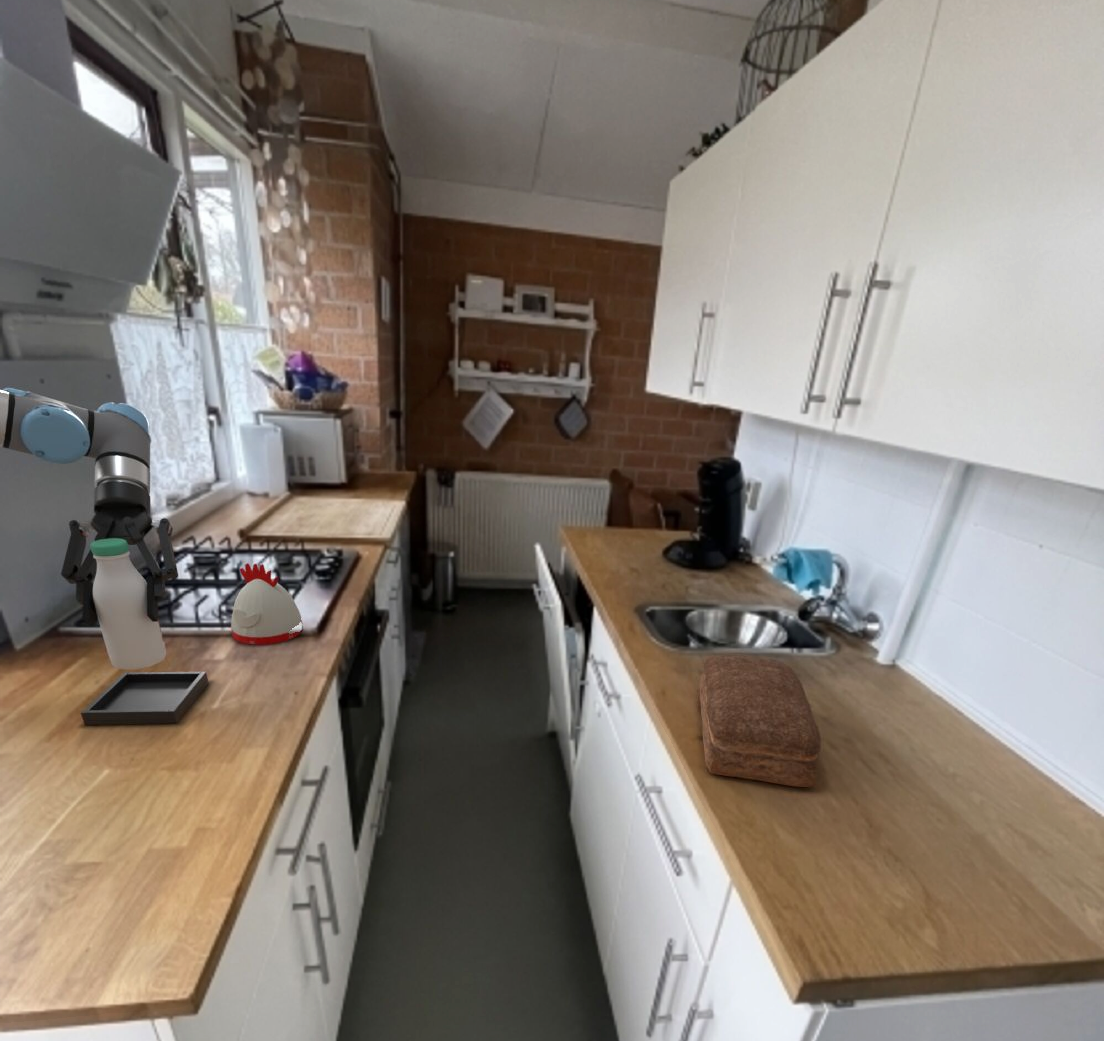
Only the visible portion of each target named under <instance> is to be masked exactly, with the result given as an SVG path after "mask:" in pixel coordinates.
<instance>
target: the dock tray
mask: <svg viewBox="0 0 1104 1041" xmlns="http://www.w3.org/2000/svg"><path fill="white" fill-rule="evenodd" d="M208 684H209V678H208V674H207V671H129V672H128V671H127V672H126V671H124V672H123V673H121V674H120V675H119V677H118V678H116V679H115V680H114V681H113V682H112V683H111V684H110V685H109V686H108V687H106V689H105V690H103V692H101V694H99V695H98V696H97V697H96V698H95V699H94V700H93V701H91V703H90V704H89V705H87V706H86V707H85V708H84V709H83V710H82V711H81V712H80V715H81V718H82V721H83V722H82V723H83V725H84V726H108V725H109V726H110V725H113V726H115V725H119V726H120V725H158V724H159V725H161V724H163V725H164V724H165V725H167V724H168V725H169V724H178V723H179V721H180V720H181V719H182V717H183V716H184V715H185V714H186V712H187V711H188V710H189V709H190V708H191V706H192V704H193V703H194V702H195V701H196V700H197V698H198V697H199V696H200V694H201V693H202V692H203V691H204V690H205V688H206V686H207V685H208Z"/></svg>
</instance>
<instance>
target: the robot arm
mask: <svg viewBox="0 0 1104 1041" xmlns="http://www.w3.org/2000/svg"><path fill="white" fill-rule="evenodd" d="M151 443H152V438H151V428H150V422H149V420H148V417H147V416H146V415H145V414H144V412H142V411H141V410H140V409H138V408H136V407H134V406H132V405H130V404H128V403H123V402H119V403H115V402H106V403H103V404H102V405H100V406H99V407H98V408H97V410H92V409H87V408H83V407H80V406H77V405H74V404H70V403H68V402H63V401H62V400H57V399H53V398H50V397H47V396H45V395H44V396H43V395H40V394H37V393H35V392H33V391H26V390H21V389H17V388H13V387H5V388H3V389H2V390H1V389H0V448H3V449H4V448H5V449H8V450H11V451H15V452H19V453H24V454H28V455H33V456H35V457H36V458H39V459H40V460H42V461H45V462H49V463H53V464H58V465H66V464H72V463H76V462H77V461H79V460H81V459H82V458H84V457H88V458H91V459H94V462H95V463H94V491H93V515H92V517H91V518H90V520H87V521H81V522H78V521H77V520H75V519H72V520H70V521H69V522H68V526H69V530H70V536H69V540H68V543H67V548H66V552H65V556H64V560H63V564H62V569H61V572H60V574H61V577H62V578H63V579H65V580H66V581H67V583H69V584H70V585H74V584H75V600H76V602H78V604H79V605H81V606H82V614H81V620H82V621H83V622H84V623H85V624H86V625H87V626H89V627H96V621H97V613H96V609H95V605H94V601H93V584H94V580H95V577H96V572H97V561H96V559H95V558H94V557H93V556H94V555H93V553H92V551H91V548H90V550H89V551H88V553H87V555H86V556H85V549H86V546H87V538H89V537H90V534H91V531H93V530H94V531H95V532H96V535H95V537H94V541H97V540H101V539H109V538H119V539H124V540H126V541H127V544H128V546H137V548H138V550H139V552H140V554H141V556H142V557H143V559H144V561H145V563H146V565H147V566H148V568H149V570H150V572H151V574H152V576H146V582H147V616H148V617H149V618H150V619H151V620H152V622H157V621H158V620H159V601H164V600H165V598H166V582H167V581H168V580H171V579H172V580H175V579H178V577H179V570H178V567H177V566H178V565H177V562H176V557H175V553H174V548H173V543H172V534H173V529H174V528H173V526H172V524H171V522H170V520H169V519H168V518H166V517H163V518H160V520H157V519H152V517H151V495H150V494H151ZM153 529H154V531H155V532H156V534H157V535H158V540H159V545H160V549H161V554H162V559H163V564H164V568H163V569H161V568H160V565H159V564H158V562H157V560H156V558H155V557H154V555H153V553H152V551H151V549H150V547H149V545H148V543H147V541H146V539H145V537H146V536H147V535H148V534H149V533H150V532H151V531H152V530H153ZM84 556H85V558H84ZM83 558H84V560H83Z"/></svg>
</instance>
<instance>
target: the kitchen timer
mask: <svg viewBox="0 0 1104 1041" xmlns="http://www.w3.org/2000/svg"><path fill="white" fill-rule="evenodd" d="M239 572H240V574H241V576H242V577H243V579H244V581H245V583H246V584H245V585H244V586H243V587H242V588H241V589H240V591H239V593H238V594H237V596H236V598H235V601H234V603H233V610H232V614H231V621H230V629H231V634H232V635H231V636H232V637H233V639H234V640H235V641H237V642H239V643H242V644H246V645H254V646H255V645H256V646H260V645H272V644H278V643H282V642H286V641H289V640H291V639H294V638H296V637H297V636H299V635H300V634H301V633H302V632H295V633H293V634H290V635H289V633H288V632H289V631H290V630H292V628H294V627H295V626H297V625H299V623H300V622H301V621H302V622H303V619H302V620H301V618H302V615H301V612H300V610H299V608H298V606H297V604H296V602H295V600H294V598H293V594H291V593H289V592H288V591H287V589H285V588H284V587H283V586H282V585H281V584H279V583H278V582H279V576H276V577H274V578H273V580H272V570H267V571H266V568H265V566H264V564H263V563H262V564H260V565H258V563H254V564H253V565H252V568H251V565H250V563H249V562H247V563H245V564H244V567H241V568H239ZM232 632H233V633H232Z"/></svg>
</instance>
